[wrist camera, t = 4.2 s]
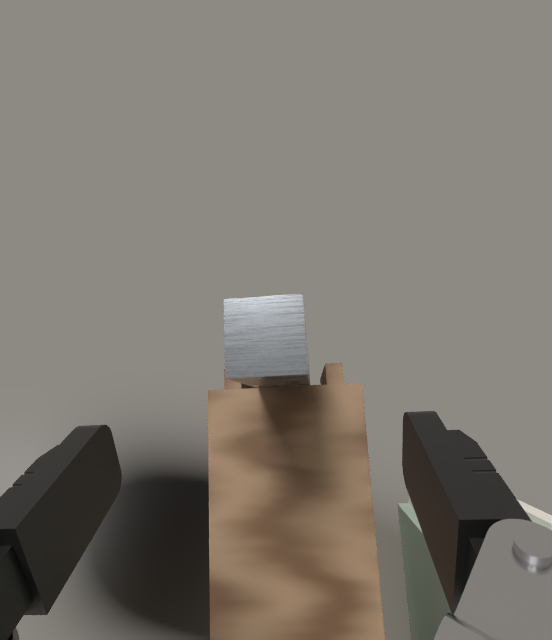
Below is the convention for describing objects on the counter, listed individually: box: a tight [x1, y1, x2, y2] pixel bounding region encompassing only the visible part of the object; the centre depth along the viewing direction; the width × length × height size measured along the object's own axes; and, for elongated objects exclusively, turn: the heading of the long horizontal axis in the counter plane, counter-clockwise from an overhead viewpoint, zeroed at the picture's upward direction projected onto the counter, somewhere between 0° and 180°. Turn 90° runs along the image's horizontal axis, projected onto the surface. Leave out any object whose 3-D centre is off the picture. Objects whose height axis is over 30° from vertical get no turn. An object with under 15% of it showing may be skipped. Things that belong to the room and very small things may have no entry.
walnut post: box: [208, 363, 385, 640], centre depth 27 cm, size 9×15×33 cm, turn 175°
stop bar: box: [224, 294, 310, 388], centre depth 26 cm, size 3×24×3 cm, turn 175°
